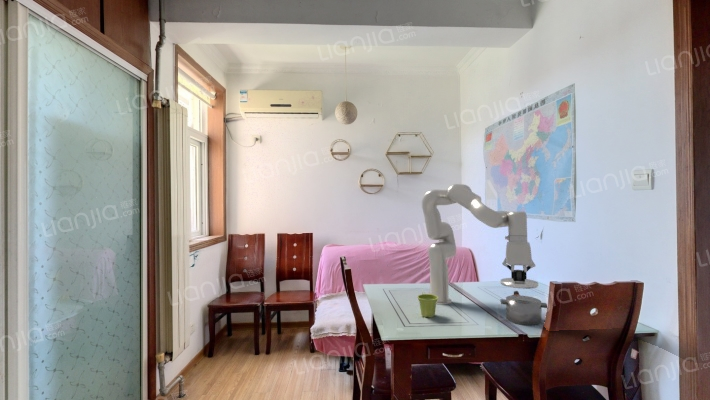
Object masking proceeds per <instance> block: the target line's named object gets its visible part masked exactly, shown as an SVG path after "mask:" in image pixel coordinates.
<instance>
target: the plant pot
mask: <svg viewBox="0 0 710 400" xmlns="http://www.w3.org/2000/svg"><path fill="white" fill-rule="evenodd" d="M417 298H418V303H419V308H420V315H421V316H422V317H424V318H427V317H428V318H433V317H435V315H436V309H437V308H436V306H437V304H436V302H437V299H438V297H437V296H435V295H431V294H422V293H421V294H419V295H417Z"/></svg>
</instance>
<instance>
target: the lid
mask: <svg viewBox="0 0 710 400" xmlns="http://www.w3.org/2000/svg"><path fill="white" fill-rule="evenodd" d="M514 270H515V281H514V280H513V279H512V278H511V277H506V278H504V277H503V278H501V279H500V285H502V286H505V287H508V288H514V289H536V288H539V282H538V281H536V280H534V279H533V280H532V279H528V278H527V279H525V281H523V269H514Z"/></svg>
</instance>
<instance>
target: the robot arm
mask: <svg viewBox="0 0 710 400" xmlns="http://www.w3.org/2000/svg"><path fill="white" fill-rule="evenodd" d="M453 204H458V205H460V206H462V207H463V208H465V209H466V210H468V211H469V212H470V213H471V214H472V215H473V217H475V218H476V219H477V220H478V221H480V222H481V223H483V224H485V225H486V226H488V227H490V228H493V229H497V228H505V227H507V231H508V232H507V233H508V235H507V236H506V235H505V237H504V239H505V240H507V241H506V245H505V246H506V247H505V258H504V260H503V261H502V264H501V265H502V266H504V267H505V268H507V269H508V270H509V271H510V273H511V277H510V278H512V279H513V280H514V281H515V270H516V269H515V266H522V270H523V281H525V279H528V278H527V273H528V271H529V270H530V269H532V268H534V267H536V264H535V262H534V260H533V259H532V258H533V257H532V249H531V244H530V242H529V241H528V221H527V219H528V217H527V212H525V211H516V210H515V211H505V210H493V209H492V208H491V207H489V206H487V205H486V204H484V203H483V202H482V197H481V196H480V195H478V194H476V193H475V192H473V191H472V189H471V187H470V186H469V185H467V184H462V183H454V184H452V185H450V186H449V187H448V188H447V189H431V190H429V191H427V192H425V194H424V195H423V196H422V199H421V208H422V212H423V216H424V222H425V228H426V234H427V237H428V238H429V239H430V240H431V241H438V242H434V243H432V244H431V245H430V246H429V247H428V250H427V254H428V261H429V279H430V280H429V282H430V283H429V286H430V287H429V288H430V289H429V290H430V291H429V292H422V293H421V295H422V294H431V295H435V296H437V297H438V299H437V302H436V305H441V306H443V305H444V306H445V305H450V304H452V302H453V301H452V299H451V298H449V297H450V296H449V290H450V289H449V288H450V286H449V285H450V284H449V265H448V262H447V260H449V259H452V258H454V257H455V255H456V254H457V246H456V240H455V236H454V230H453V227H452V225H450V224H449V223H448V222H445V221H442V218H441V213H440V211H439V209H438V208H437V207H438V206H448V205H449V206H450V205H453Z"/></svg>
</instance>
